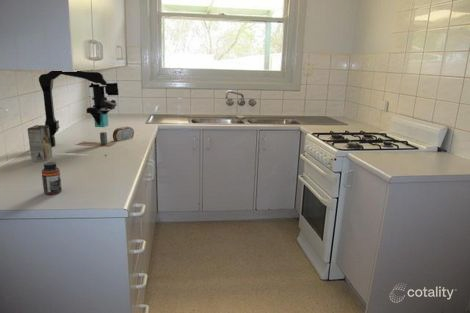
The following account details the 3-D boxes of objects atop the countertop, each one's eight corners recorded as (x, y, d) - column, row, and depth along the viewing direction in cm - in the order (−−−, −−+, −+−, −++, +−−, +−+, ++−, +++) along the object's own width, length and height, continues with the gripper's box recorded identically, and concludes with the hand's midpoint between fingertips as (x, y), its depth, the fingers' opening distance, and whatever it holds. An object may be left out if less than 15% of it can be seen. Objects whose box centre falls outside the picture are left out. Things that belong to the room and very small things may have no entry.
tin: (131, 138, 227) (130, 125, 225) (135, 139, 226) (134, 126, 224) (112, 142, 215) (111, 128, 213) (116, 143, 213) (115, 129, 211)
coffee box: (39, 156, 181) (36, 124, 177) (52, 156, 182) (49, 125, 178) (30, 161, 172) (26, 128, 168) (44, 161, 173) (41, 128, 169)
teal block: (103, 127, 199) (102, 115, 197) (95, 126, 200) (93, 115, 198) (108, 125, 204) (107, 113, 202) (99, 125, 205) (98, 113, 203)
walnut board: (108, 149, 200) (108, 147, 199) (75, 146, 202) (74, 144, 202) (116, 145, 208) (116, 143, 208) (83, 143, 211) (83, 141, 211)
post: (105, 145, 203) (104, 133, 201) (100, 145, 203) (99, 132, 201) (107, 144, 205) (106, 132, 204) (103, 144, 206) (102, 131, 204)
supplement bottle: (43, 191, 135) (40, 161, 132) (60, 188, 138) (58, 160, 135) (44, 196, 130) (41, 166, 128) (62, 193, 133) (59, 164, 130)
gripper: (104, 97, 188) (107, 127, 192) (120, 94, 205) (122, 121, 210) (84, 97, 189) (87, 126, 193) (102, 94, 207) (104, 121, 211)
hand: (101, 123), depth 202 cm, fingers closed on teal block, 5 cm apart
